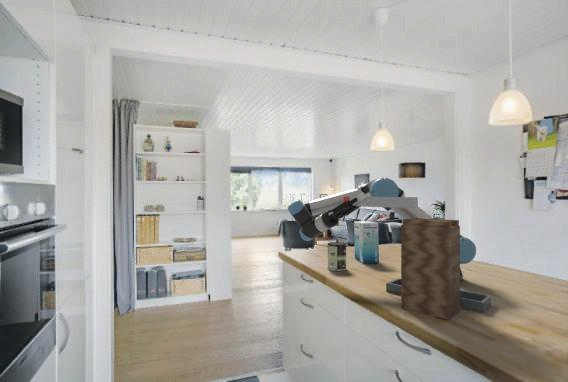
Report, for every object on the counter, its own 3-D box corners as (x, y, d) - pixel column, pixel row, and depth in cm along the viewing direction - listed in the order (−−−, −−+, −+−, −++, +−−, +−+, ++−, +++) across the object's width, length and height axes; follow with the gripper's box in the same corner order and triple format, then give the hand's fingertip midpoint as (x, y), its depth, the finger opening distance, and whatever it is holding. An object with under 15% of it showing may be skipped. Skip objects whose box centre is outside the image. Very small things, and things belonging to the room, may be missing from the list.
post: (401, 308, 118) (401, 219, 118) (414, 300, 127) (414, 217, 127) (448, 320, 107) (448, 221, 107) (460, 310, 116) (459, 219, 116)
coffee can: (346, 267, 184) (346, 242, 185) (346, 271, 174) (346, 244, 174) (328, 266, 186) (328, 241, 187) (326, 270, 176) (326, 244, 177)
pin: (343, 206, 140) (343, 196, 140) (348, 205, 143) (348, 196, 143) (413, 208, 119) (413, 197, 119) (417, 207, 122) (417, 197, 122)
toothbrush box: (353, 258, 211) (353, 220, 212) (369, 258, 212) (369, 220, 212) (362, 263, 194) (362, 222, 194) (379, 263, 194) (379, 222, 195)
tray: (386, 291, 138) (386, 283, 139) (397, 286, 146) (397, 278, 146) (483, 312, 113) (483, 302, 113) (491, 305, 121) (491, 295, 121)
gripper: (341, 227, 153) (381, 202, 139) (318, 229, 141) (360, 203, 127) (334, 212, 156) (373, 187, 142) (311, 214, 143) (352, 186, 129)
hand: (367, 195), depth 134 cm, fingers closed on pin, 4 cm apart
